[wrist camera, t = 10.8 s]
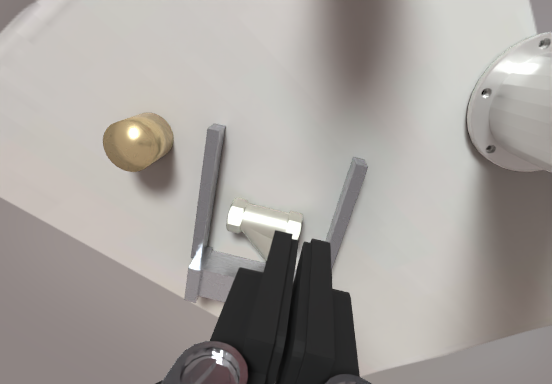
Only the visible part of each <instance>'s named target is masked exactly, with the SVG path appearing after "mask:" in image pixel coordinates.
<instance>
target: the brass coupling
mask: <svg viewBox="0 0 552 384" xmlns="http://www.w3.org/2000/svg"><path fill="white" fill-rule="evenodd" d="M172 145H173V132H172V130H171V127H170V126H169V124H168V123H167V122H166V121H165V120H164V119H163V118H162V117H160V116H159V115H156V114H153V113H142V114H139V115H136V116H133V117H130V118H127V119H124V120H121V121H119V122H116V123H113V124H112V125H110V126H109V127H108V128H107V129H106V131H105V133H104V136H103V146H104V150H105V152H106V155H107V156H108V158H109V159H110V160H111V162H112V163H113V164H115V165H116V166H117V167H119V168H121V169H123V170H125V171H130V172H137V171H141V170H143V169H145V168H146V167H148V166H149V165H151V164H152V163H154V162H155V161H157V160H158V159H160V158H161V157H163V156H164V155H166V154H167V153H168V152H169V151H170V149H171V148H172Z"/></svg>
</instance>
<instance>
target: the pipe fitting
mask: <svg viewBox="0 0 552 384" xmlns="http://www.w3.org/2000/svg"><path fill="white" fill-rule="evenodd" d="M302 221H303V216H302V214H301V213H297V212H293V211H290V212H289V213H286V212H282V211H278V210H274V209H270V208H266V207H262V206H258V205H254V204H250V203H248V201H247V200H245V199H240V198H235V199H234V200H233V202H232V204H231V207H230V210H229V214H228V218H227V225H226V228H227V230H228V231H231V232H235V233H240V232H241V231H242V232H243V233H244V234H245V235H246V237H247V238H248V239H249V240H250V242H251V243H252V244H253V246H254V247H255V248H256V249H257V251H258V252H259V253H260V254H261V256H262V257H263V258H264V259H265V261H267V258H268V254H269V250H270V247H271V243H272V240H273V236H274V232H275V230H277V231H282V232H286V233H290V234H293V235H292V239H295V240H298V238H299V235H300V231H301V226H302Z"/></svg>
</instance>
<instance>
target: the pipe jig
mask: <svg viewBox="0 0 552 384" xmlns="http://www.w3.org/2000/svg"><path fill="white" fill-rule="evenodd" d="M224 133H225V126H223V125H218V124H213V125H212V126H210V127H209V128H208V129H207V137H206V145H205V152H204V160H203V168H202V175H201V183H200V191H199V199H198V206H197V214H196V222H195V230H194V237H193V245H192V253H191V258H193V261H192V263H191V264H190V266H189V268H188V275H187V283H186V291H185V299H184V300H186V301H190V302H194V303H196V301H197V299H198V297H199V296H201V297H205V298H209V299H213V300H217V301H221V302H225V301H226V299H227V296H228V294H229V291H230V289H231V286H232V284H233V281H234V279H235V276H236V274H237V271H238V269H239V267H242V268H246V269H251V270H255V271H259V272H264V269H265V265H266V263H262V262H258V261H254V260H250V259H246V258H242V257H238V256H234V255H230V254H226V253H222V252H217V251H213V250H212V247H208V246H207V244H208V238H209V231H210V225H211V218H212V212H213V205H214V198H215V192H216V185H217V179H218V172H219V165H220V159H221V152H222V146H223V139H224ZM367 168H368V166H367V164H366V162H365V160H364V159H360V158H356V157H353V159H352V162H351V165H350V168H349V171H348V174H347V177H346V180H345V183H344V186H343V189H342V192H341V195H340V198H339V202H338V205H337V208H336V211H335V214H334V217H333V220H332V223H331V226H330V229H329V232H328V235H327V238H326V241H325V242H330V244H331V269H332V267H333V264H334V261H335V259H336V256H337V253H338V250H339V247H340V244H341V242H342V239H343V236H344V233H345V230H346V228H347V225H348V222H349V219H350V216H351V213H352V211H353V208H354V205H355V202H356V199H357V197H358V194H359V191H360V188H361V185H362V182H363V180H364V177H365V174H366V171H367ZM295 274H296V271H295V272H294V278H295ZM293 282H294V280H293Z"/></svg>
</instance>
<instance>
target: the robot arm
mask: <svg viewBox="0 0 552 384" xmlns="http://www.w3.org/2000/svg"><path fill="white" fill-rule="evenodd" d="M540 42H541V44H540V46H539V43H540ZM483 90H484V93H483V94H482V95H481V93H482V91H483ZM467 126H468V132H469V135H470V138H471V141H472V143H473V144H474V146H475V147H476V149H477V151H478V152H479V153H481V154H482V155H483V156H484V157H485V158H486V159H488V160H489V161H491V162H492V163H494V164H496V165H498V166H500V167H502V168H504V169H509V170H513V171H520V172H533V171H542V170H546V171H548V172H550V173H552V32H547V33H541V34H538V35H536V36H533V37H530V38H527V39H525V40H523V41H521V42H519V43H518V44H516V45H514V46H512V47H511V48H509V49H508V50H507V51H505V52H504V53H503V54H501V55H500V56H499V57H498V58H497V59H496V60H495V61H494V62H493V63H492V64H491V65H490V66H489V67H488V68H487V69H486V71H485V72H484V74H483V75H482V76H481V78H480V79H479V81H478V83H477V85H476V86H475V88H474V90H473V92H472V95H471V99H470V102H469V105H468V112H467ZM488 146H489V147H488ZM487 147H488V148H487ZM486 148H487V149H486ZM292 235H293V234H290V233H286V232H282V231H277V230H275V232H274V236H273V240H272V243H271V247H270V250H269V254H268V258H267V261H266V265H265V269H264V272H259V271H255V270H251V269H246V268H242V267H239V269H238V271H237V274H236V276H235V279H234V281H233V284H232V286H231V289H230V291H229V294H228V296H227V299H226V301H225V304H224V306H223V309H222V311H221V314H220V316H219V319H218V322H217V324H216V327H215V329H214V332H213V334H212V337H211V339H210V341H205V342H202V343H198V344H195V345H193V346H191V347H190V348H188V349H186V350H185V351H184V352H183V354H181V355H180V357H179V358H178V359H177V360H176V362H175V363H174V365H173V366H172V368H171V369H170V371H169V372H168V373H167V375H166V377H165V378H164V379H163V380H162V381H160V382H158V383H156V384H371V383H370V382H368V381H366V380H365V379H363V378H361V377H360V376H359V367H358V359H357V350H356V341H355V332H354V323H353V314H352V305H351V297H350V294H349V293H348V292H344V291H339V290H335V289H332V269H331V244H330V242H325V241H321V240H316V239H312V240H311V243H308V242H304V243H303V247H302V251H301V255H300V259H299V263H298V266H297V270H296V274H295V278H294V272H295V265H296V257H297V249H298V242H299V240H295V239H292ZM293 280H294V282H293Z"/></svg>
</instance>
